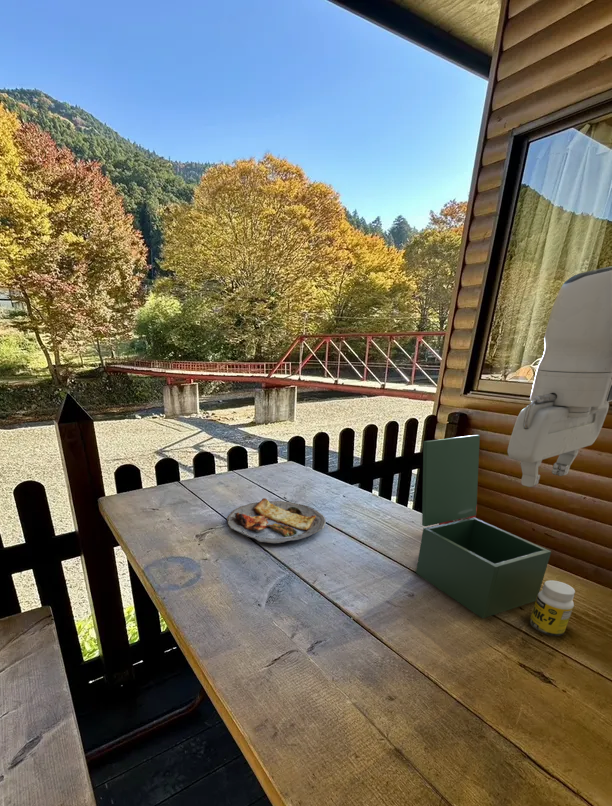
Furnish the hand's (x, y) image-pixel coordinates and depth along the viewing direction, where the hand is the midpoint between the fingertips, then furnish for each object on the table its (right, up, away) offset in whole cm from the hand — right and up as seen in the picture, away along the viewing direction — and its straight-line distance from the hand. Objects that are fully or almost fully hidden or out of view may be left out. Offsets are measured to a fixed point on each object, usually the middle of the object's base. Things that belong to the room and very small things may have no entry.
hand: (544, 479), depth 65 cm
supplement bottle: (+3, -25, +3) cm, 25 cm away
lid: (-7, 0, +15) cm, 17 cm away
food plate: (-40, -11, +41) cm, 58 cm away
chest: (-3, -21, +14) cm, 25 cm away
